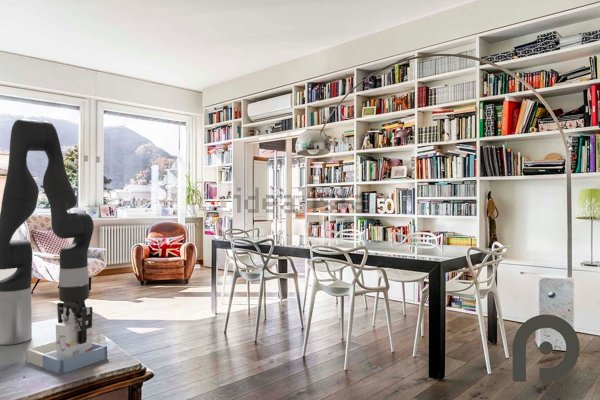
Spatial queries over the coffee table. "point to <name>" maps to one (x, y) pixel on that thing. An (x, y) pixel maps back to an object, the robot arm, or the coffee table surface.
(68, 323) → the ink cartridge box
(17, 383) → the coffee table surface
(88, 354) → the organizer tray
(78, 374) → the coffee table surface
